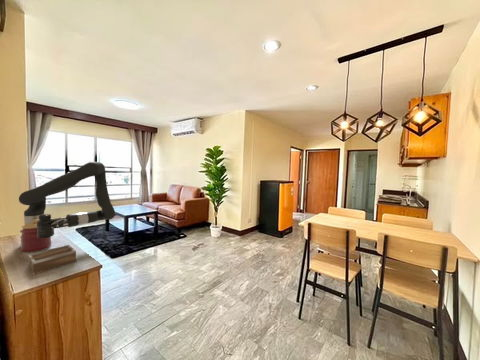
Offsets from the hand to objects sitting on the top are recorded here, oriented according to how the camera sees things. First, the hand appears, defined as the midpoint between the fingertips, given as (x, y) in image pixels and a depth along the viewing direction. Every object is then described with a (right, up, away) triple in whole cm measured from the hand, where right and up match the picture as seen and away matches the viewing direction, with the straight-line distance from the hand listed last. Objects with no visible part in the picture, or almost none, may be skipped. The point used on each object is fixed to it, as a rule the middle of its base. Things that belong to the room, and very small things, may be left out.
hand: (39, 225), depth 109 cm
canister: (-14, -16, +12) cm, 25 cm away
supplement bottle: (+1, -7, +2) cm, 7 cm away
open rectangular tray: (+12, -19, -5) cm, 23 cm away
